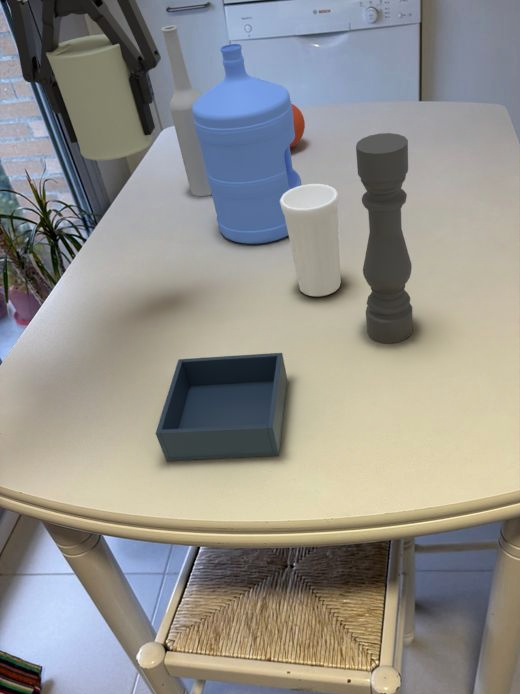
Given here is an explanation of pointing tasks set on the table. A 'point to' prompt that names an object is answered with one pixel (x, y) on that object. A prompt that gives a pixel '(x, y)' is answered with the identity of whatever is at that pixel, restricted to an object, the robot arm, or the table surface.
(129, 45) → the robot arm
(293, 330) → the table surface
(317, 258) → the cup
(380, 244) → the candle holder
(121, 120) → the can
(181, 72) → the bottle
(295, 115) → the tomato
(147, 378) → the table surface
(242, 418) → the box
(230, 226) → the water jug
